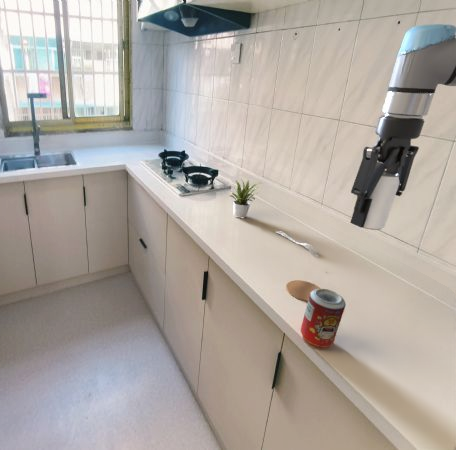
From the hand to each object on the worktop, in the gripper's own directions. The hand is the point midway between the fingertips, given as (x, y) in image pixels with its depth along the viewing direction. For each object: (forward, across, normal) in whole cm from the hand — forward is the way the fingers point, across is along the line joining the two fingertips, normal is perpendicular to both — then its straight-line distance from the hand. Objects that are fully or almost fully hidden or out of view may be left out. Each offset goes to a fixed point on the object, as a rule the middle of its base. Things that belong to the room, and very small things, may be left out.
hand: (368, 222), depth 76 cm
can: (+1, 0, 0) cm, 1 cm away
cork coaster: (+25, +1, -11) cm, 28 cm away
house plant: (+26, -16, -63) cm, 70 cm away
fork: (+26, -19, -35) cm, 47 cm away
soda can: (+26, +13, +5) cm, 29 cm away
